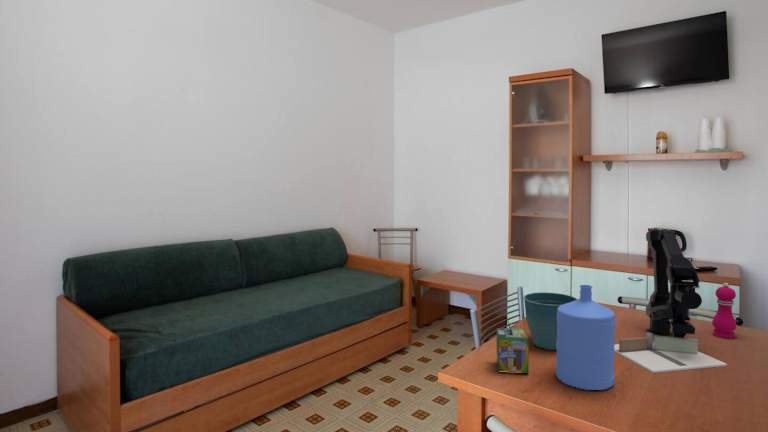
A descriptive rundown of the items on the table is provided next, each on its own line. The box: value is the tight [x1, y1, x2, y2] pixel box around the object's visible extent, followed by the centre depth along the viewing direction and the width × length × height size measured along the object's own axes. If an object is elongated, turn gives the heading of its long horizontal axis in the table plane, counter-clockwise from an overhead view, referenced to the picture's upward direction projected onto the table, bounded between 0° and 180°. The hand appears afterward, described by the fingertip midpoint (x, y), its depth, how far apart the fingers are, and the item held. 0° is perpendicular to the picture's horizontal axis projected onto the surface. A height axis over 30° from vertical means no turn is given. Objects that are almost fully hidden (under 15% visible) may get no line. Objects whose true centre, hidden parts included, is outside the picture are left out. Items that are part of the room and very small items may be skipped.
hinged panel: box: [653, 334, 699, 353], centre depth 152 cm, size 12×2×4 cm, turn 70°
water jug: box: [555, 284, 616, 391], centre depth 132 cm, size 16×16×28 cm
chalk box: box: [495, 319, 530, 373], centre depth 142 cm, size 9×9×15 cm
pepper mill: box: [711, 282, 738, 340], centre depth 167 cm, size 7×7×20 cm
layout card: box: [614, 331, 728, 374], centre depth 150 cm, size 22×26×6 cm
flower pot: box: [523, 291, 578, 351], centre depth 161 cm, size 18×18×17 cm
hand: (676, 344), depth 154 cm, fingers closed
